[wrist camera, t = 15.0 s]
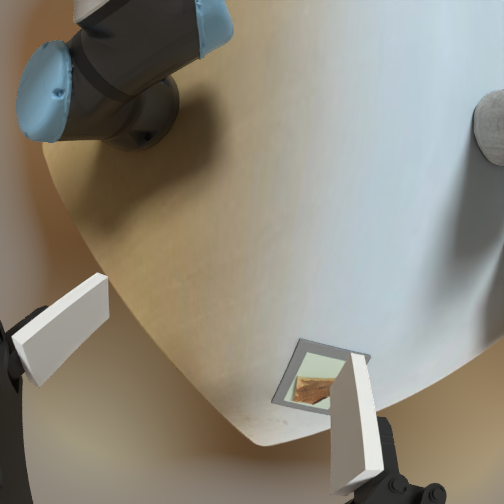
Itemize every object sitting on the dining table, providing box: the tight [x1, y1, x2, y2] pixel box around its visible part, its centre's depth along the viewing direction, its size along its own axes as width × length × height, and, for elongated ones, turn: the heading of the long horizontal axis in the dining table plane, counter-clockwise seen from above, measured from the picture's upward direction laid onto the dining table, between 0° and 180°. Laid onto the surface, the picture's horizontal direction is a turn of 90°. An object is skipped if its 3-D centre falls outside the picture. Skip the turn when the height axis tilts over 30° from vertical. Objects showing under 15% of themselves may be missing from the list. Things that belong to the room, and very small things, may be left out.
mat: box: [272, 338, 371, 415], centre depth 50 cm, size 14×18×1 cm
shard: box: [293, 376, 336, 405], centre depth 49 cm, size 11×8×2 cm
